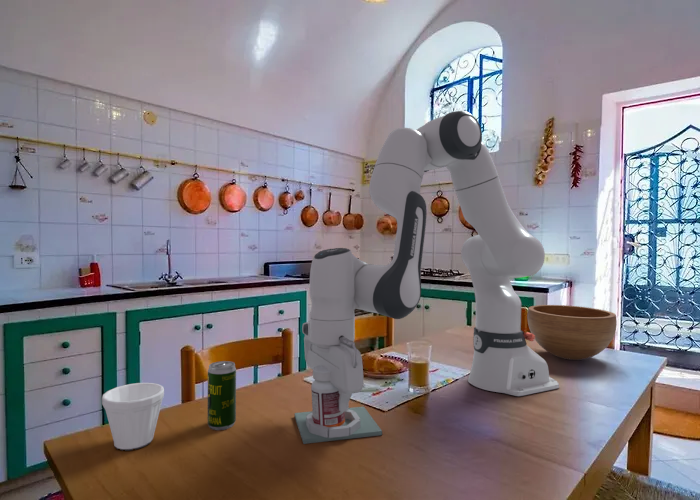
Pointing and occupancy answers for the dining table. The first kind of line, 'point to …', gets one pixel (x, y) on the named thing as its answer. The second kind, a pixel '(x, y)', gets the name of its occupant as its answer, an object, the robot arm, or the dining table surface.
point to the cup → (133, 413)
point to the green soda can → (221, 395)
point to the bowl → (571, 330)
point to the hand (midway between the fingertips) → (331, 401)
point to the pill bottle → (325, 399)
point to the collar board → (354, 427)
